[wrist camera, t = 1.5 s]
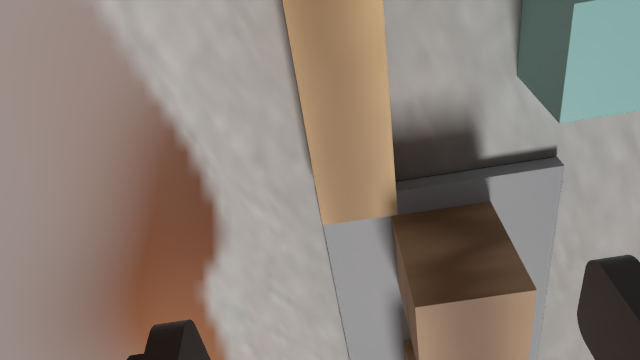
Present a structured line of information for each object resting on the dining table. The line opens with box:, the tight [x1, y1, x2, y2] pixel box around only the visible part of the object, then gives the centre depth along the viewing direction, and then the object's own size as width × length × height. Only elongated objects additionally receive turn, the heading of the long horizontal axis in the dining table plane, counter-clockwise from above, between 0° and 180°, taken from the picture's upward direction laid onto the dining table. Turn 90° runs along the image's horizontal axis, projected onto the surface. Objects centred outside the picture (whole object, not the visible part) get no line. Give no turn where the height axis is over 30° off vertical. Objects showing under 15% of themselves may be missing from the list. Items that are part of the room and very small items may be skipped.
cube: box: [517, 0, 640, 123], centre depth 20 cm, size 4×4×4 cm
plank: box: [282, 0, 398, 225], centre depth 21 cm, size 4×14×3 cm, turn 8°
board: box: [323, 157, 564, 360], centre depth 31 cm, size 12×18×1 cm, turn 9°
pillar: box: [392, 201, 537, 360], centre depth 25 cm, size 5×5×6 cm
